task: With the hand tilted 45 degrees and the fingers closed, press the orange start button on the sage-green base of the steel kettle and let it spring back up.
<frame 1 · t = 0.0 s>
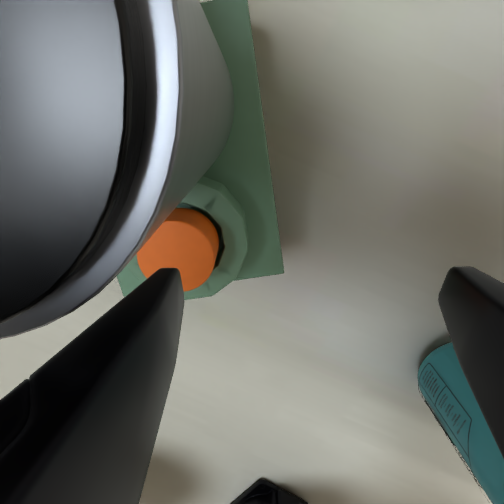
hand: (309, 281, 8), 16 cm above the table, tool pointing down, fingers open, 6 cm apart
kettle base: (189, 160, 22), on the table
beverage bottle: (444, 357, 28), on the table
kettle: (177, 107, 21), resting on kettle base
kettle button: (180, 248, 16), point 7 cm above the table, slide at 0.1 cm
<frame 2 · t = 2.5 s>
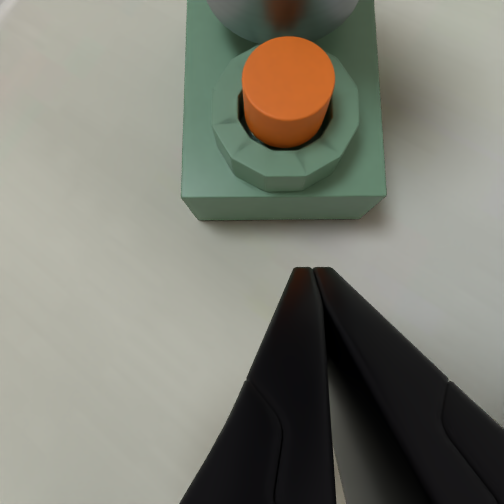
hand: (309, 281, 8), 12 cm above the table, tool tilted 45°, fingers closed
kettle base: (276, 115, 22), on the table
kettle: (276, 70, 22), resting on kettle base
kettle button: (286, 95, 14), point 7 cm above the table, slide at 0.1 cm
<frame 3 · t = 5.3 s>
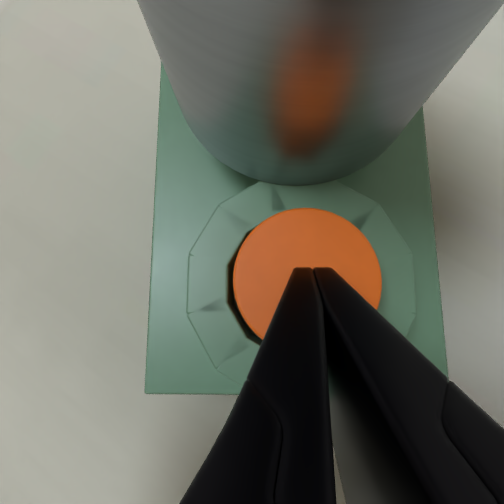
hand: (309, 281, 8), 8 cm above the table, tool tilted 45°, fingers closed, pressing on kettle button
kettle base: (283, 222, 16), on the table
kettle: (282, 161, 17), resting on kettle base
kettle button: (301, 282, 9), point 7 cm above the table, slide at -0.4 cm, touching gripper
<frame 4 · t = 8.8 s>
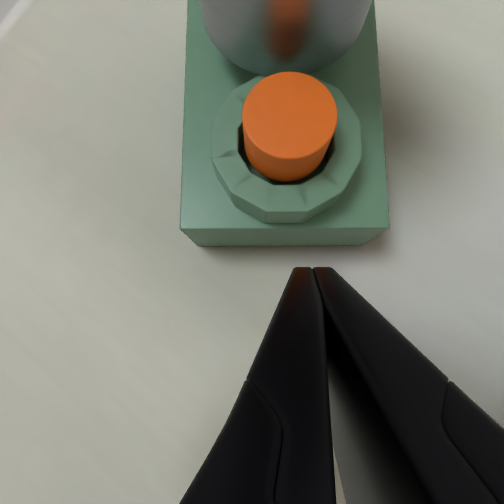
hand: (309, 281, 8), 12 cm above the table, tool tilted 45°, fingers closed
kettle base: (277, 138, 21), on the table
kettle: (276, 92, 22), resting on kettle base
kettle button: (287, 130, 14), point 7 cm above the table, slide at 0.1 cm
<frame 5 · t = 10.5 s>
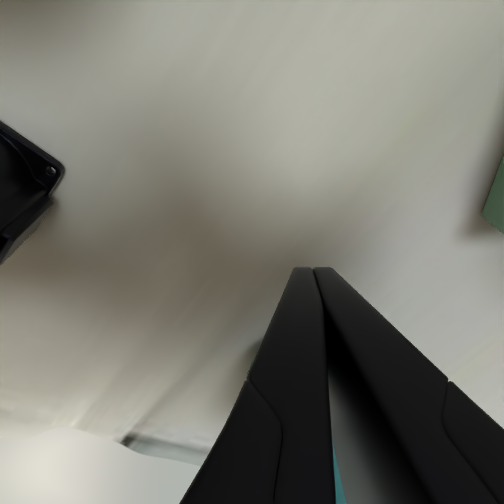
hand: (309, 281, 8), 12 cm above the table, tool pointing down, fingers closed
beverage bottle: (284, 353, 28), on the table
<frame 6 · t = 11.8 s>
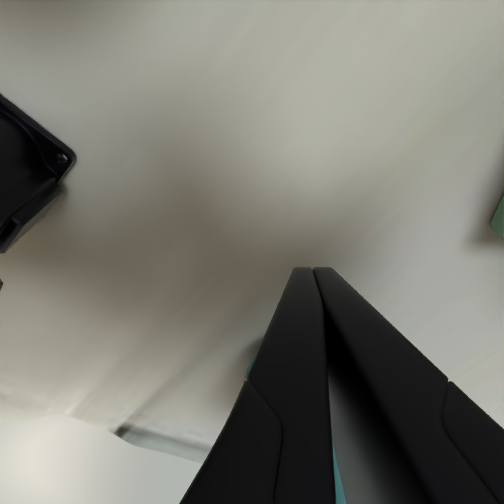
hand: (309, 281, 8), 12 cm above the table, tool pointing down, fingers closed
beverage bottle: (283, 353, 28), on the table
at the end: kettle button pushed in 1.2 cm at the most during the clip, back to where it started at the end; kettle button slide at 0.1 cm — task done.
